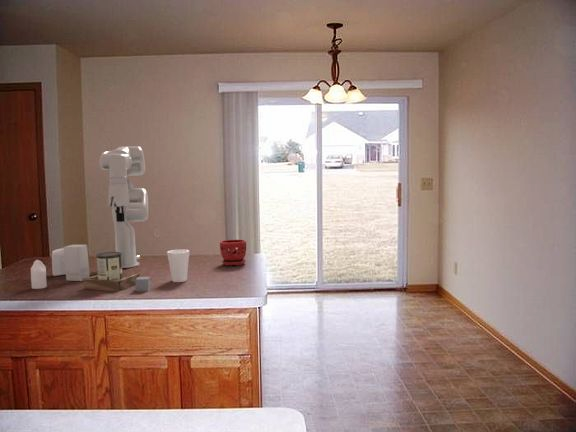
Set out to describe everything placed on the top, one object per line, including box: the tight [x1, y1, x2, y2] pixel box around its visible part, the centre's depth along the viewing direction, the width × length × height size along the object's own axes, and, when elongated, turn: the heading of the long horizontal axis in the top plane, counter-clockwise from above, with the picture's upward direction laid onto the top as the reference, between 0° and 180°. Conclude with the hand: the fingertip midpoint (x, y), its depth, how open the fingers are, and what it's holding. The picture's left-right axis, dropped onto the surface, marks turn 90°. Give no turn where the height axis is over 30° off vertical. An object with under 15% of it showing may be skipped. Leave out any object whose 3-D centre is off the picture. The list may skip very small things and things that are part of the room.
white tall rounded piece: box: [30, 259, 48, 290], centre depth 246 cm, size 6×12×6 cm
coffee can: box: [95, 251, 124, 281], centre depth 245 cm, size 10×10×14 cm
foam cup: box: [166, 249, 190, 283], centre depth 254 cm, size 10×9×13 cm
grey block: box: [135, 276, 152, 292], centre depth 239 cm, size 5×5×5 cm
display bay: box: [82, 273, 141, 292], centre depth 247 cm, size 16×17×4 cm
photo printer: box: [51, 247, 66, 277], centre depth 272 cm, size 10×4×12 cm, turn 123°
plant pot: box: [219, 239, 247, 267], centre depth 289 cm, size 13×13×12 cm
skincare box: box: [63, 244, 91, 282], centre depth 260 cm, size 8×7×16 cm
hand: (120, 221), depth 265 cm, fingers closed
